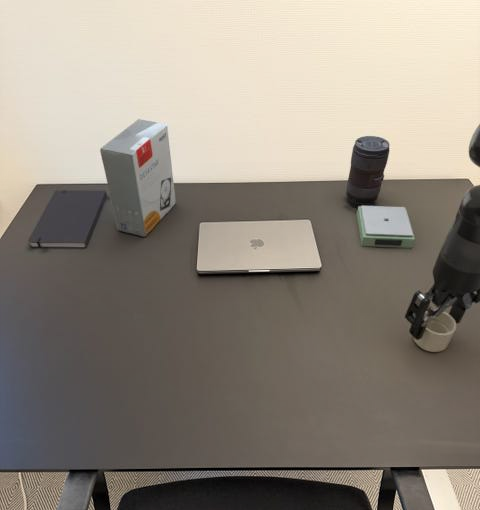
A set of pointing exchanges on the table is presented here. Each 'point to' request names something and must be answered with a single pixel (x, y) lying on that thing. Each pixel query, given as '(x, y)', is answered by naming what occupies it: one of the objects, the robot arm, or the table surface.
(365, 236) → the scale
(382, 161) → the camera lens
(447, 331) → the beige cup
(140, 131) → the hard drive box
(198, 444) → the table surface
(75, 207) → the notebook
